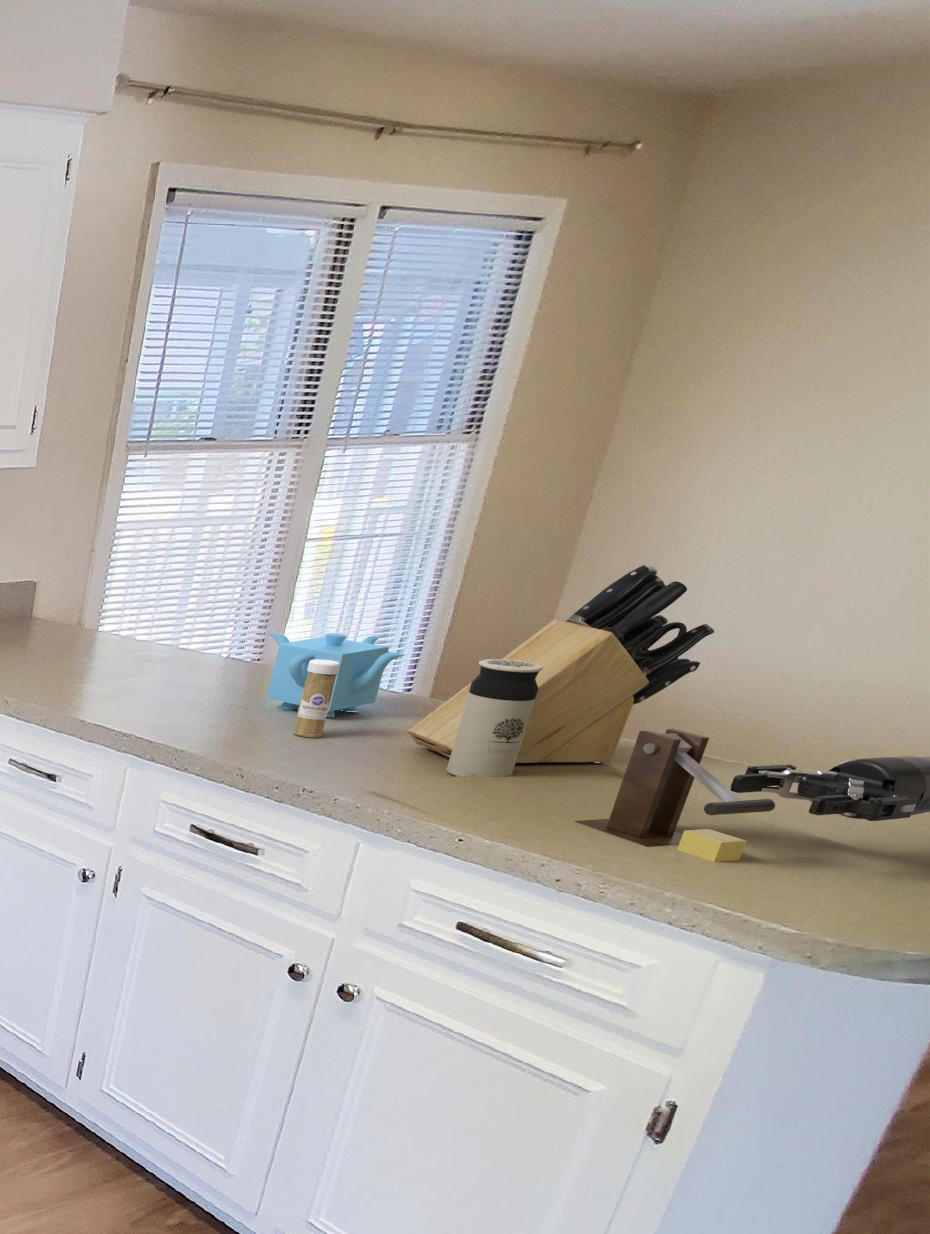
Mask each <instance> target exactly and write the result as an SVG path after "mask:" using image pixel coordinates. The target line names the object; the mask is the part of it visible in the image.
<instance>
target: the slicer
mask: <svg viewBox="0 0 930 1234" xmlns="http://www.w3.org/2000/svg"><path fill="white" fill-rule="evenodd" d="M670 733H676V734H677V735H678V736H679V737H681V738H682V739H683V740H684V741H685V742H686V743H688V744H689V745H690V746H691V747H692V748H691V749H690V750H689V751H688V752H687V754H688V755H689V756H690V757H691V758H692V759H694V760H695V761H696V762H697V763H698V764H699V765H701V762H702V759H703V756H704V753H705V751H706V749H707V745H708V743H709V741H710V737H708V736H705V735H701V734H696V733H693V732H689V731H684V730H680V729H675V728H667V729H666V730H665V733H664V734H670ZM662 734H663V733H658V732H654V731H650V730H639V732H638V735H637V738H636V741H635V744H634V746H633V749H632V752H631V755H630V758H629V761H628V764H627V767H626V770H625V773H624V775H623V778H622V780H621V783H620V786H619V789H618V793H617V795H616V798H615V801H614V804H613V807H612V810H611V813H610V816H609V818H601V819H585V820H584V819H583V820H573V822H574V823H577V824H579V825H583V826H585V827H588V828H591V829H594V830H597V831H599V832H603V833H606V834H607V835H608V834H609V835H612V836H614V837H617V838H620V839H623V840H626V841H629V842H631V843H635V844H636V845H639V846H643V847H645V848H651V847H652V848H654V847H668V846H679V843H680V840H681V838H682V835H683V833H681V832H678V831H676V829H677V827H678V824H679V821H680V818H681V815H682V813H683V811H684V808H685V804H686V802H687V799H688V798H689V797H688V796H689V793H690V791H691V788H692V786H693V784H694V780H695V779H696V778H695V777H693V776H692V775H691V774H690V773H689V772H688V771H686V770H685V769H684V768H683V767H682V766H681V765H679V764H678V763H677V762H676V761H674V758H675V756H676V753H677V750H678V747H679V744H680V742H681V739H678V738H674V737H670V736H666V735H662Z"/></svg>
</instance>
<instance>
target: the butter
mask: <svg viewBox="0 0 930 1234" xmlns="http://www.w3.org/2000/svg"><path fill="white" fill-rule="evenodd" d="M682 834H683V835H682V838H681V840H680V843H679V845H677V851H680V852H683V853H686V854H689V855H692V856H695V857H698V858H701V859H704V860H706V861H710V862H713V863H719V862H721V863H722V862H723V863H724V862H736V861H740V860H741V858H742V854H743V852H744V850H745V847H746V845H747V842H748V840H745V839H742V838H739V837H737V836H733V835H729V834H726V833H723V832H720V831H717V830H714V829H710V828H703V829H702V828H701V829H688V830H687V829H686V830H684V831H683V833H682Z"/></svg>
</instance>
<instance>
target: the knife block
mask: <svg viewBox="0 0 930 1234" xmlns="http://www.w3.org/2000/svg"><path fill="white" fill-rule="evenodd" d="M657 574H658V570H657V569H656V568H655V567H654V566H652V565H651V564H650V563H645V564H643V565H641V566H639V567H637V568H635V569H633V570H631V571H629V572H628V573H626V574H624V575H623V576H621V577H620V578H618V579H616V580H615V581H613V582H612V583H611V584H609V585H608V586H606V587H605V588H604V589H602V590H601V591H599V593H597V594H596V595H595V596H594V597H593V598H591V599H590V600H589V601H588V602H586V604H584V605H583V606H582V607H580V608H579V609H578V610H576V611H575V612H573V614H571V616H569V617H568V618H567V619H566V620H560V619H554V620H551V621H550V622H549V623H548V624H546V625H545V626H544V627H542V628H541V629H540V630H539V631H537V632H536V633H534V634H533V635H532V636H531V637H529V638H528V639H526V640H525V641H524V642H522V643H521V644H520V645H519V646H517V647H516V648H514V649H513V650H512V651H511V652H509V653H508V654H507V655H505V656H504V657H503V658H502V659H505V660H517V661H524V662H530V663H534V664H538V665H540V666H542V668H543V669H542V670H541V671H539V673H538V675H537V677H536V679H535V680H536V683H537V686H538V692H537V695H536V698H535V701H534V705H533V708H532V711H531V714H530V718H529V721H528V724H527V727H526V731H525V734H524V737H523V740H522V743H521V747H520V750H519V753H518V756H517V760H516V763H515V764H534V763H535V764H536V763H537V764H538V763H590V762H601V763H610V762H611V761H612V760H613V758H614V755H615V752H616V749H617V747H618V745H619V742H620V740H621V737H622V734H623V732H624V729H625V728H626V727H625V726H626V723H627V722H628V718H629V716H630V714H631V711H632V708H633V706H635V705H638V704H640V703H642V702H643V701H646V700H647V699H649V698H651V697H653V696H654V695H656V694H657V693H659V692H661V691H663V690H665V689H666V688H668V687H670V686H671V685H672V684H674V683H675V682H677V681H678V680H680V679H681V678H683V677H684V676H686V675H688V674H690V673H693V672H696V671H697V670H698V668H700V665H701V662H700V661H697V660H690V659H689V658H679V657H681V656H682V655H684V654H685V653H686V652H688V651H689V650H690V649H692V648H693V647H694V646H695V645H697V644H698V643H699V642H700V641H702V640H703V639H704V638H706V637H707V636H710V635H713V634H714V633H715V629H714V628H712V627H711V626H710V625H709V624H708V623H704V624H701V625H698V626H695V627H694V628H692V629H690V630H687V625H685V623H683V622H680V621H673V622H668V621H669V620H668V618H667V617H665V616H664V615H662V614H660V613H661V612H662V611H664V610H665V609H667V608H668V607H669V606H671V605H672V604H674V603H675V602H676V601H678V599H680V598H681V597H682V596H683V595H684V594H686V592H687V591H688V588H687V585H685V584H684V583H682V582H680V581H672V582H670V583H668V584H666V583H665V582H664V580H663V579H662V578H661V577H659V576H658V575H657ZM675 629H679V630H678V633H677V635H676V636H675V637H674V638H673V639H672V640H671V641H669V642H667V643H666V644H663V645H661V646H659V647H657V648H654V649H650V648H651V647H653V645H655V644H656V643H657V642H658V641H660V639H662V638H663V637H664V636H665V635H666V634H668V633H669V632H670V631H673V630H675ZM470 686H471V682H470V683H468V684H467V685H466V686H464V687H463V688H462V689H461V690H459V691H458V692H457V693H455V694H454V695H452V696H451V697H450V698H449V699H447V700H446V701H445V702H444V703H442V704H441V705H440V706H438V707H437V708H435V710H433V711H432V712H430V713H429V714H428V715H426V716H425V717H424V718H423V719H421V720H420V721H419V722H417V723H416V724H415V725H413V726H411V728H409V729H408V730H407V733H408V735H409V736H410V737H411V738H412V740H413V741H414V743H415V744H416V745H418V746H422V747H424V748H426V749H428V750H430V751H434V752H436V753H439V754H441V755H442V756H444V757H447V758H449V759H450V756H451V752H452V749H453V745H454V742H455V738H456V735H457V731H458V728H459V724H460V721H461V717H462V714H463V710H464V707H465V703H466V700H467V696H468V693H469V689H470Z"/></svg>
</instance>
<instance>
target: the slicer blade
mask: <svg viewBox="0 0 930 1234" xmlns="http://www.w3.org/2000/svg"><path fill="white" fill-rule="evenodd" d="M661 734H662V735H666V736H670V737H674V738H678V739H681V742H680V744H679V747H678V750H677V753H676V756H675V758H674V761H676V762H677V763H678V764H679V765H681V766H682V767H683V768H684V769H685V770H686V771H688V772H689V773H690V774H691V775H692V776H693V777H695V778H694V779H695V780H697V781H698V782H699V783H700V784H702V785H703V787H705V788H707V790H708V791H710V792H711V793H712V794H713V795H714V796H716V798H718V799H719V800H720V801H717V802H707V803H706V804H705V805H704V806H703V811H704V813H705V814H706V815H708V816H720V815H721V816H722V815H724V816H725V815H736V814H737V815H738V814H752V813H753V814H754V813H766V812H767V813H768V812H771V811H773V810H775V808H776V803H775V801H774V800H772V799H770V798H764V799H763V798H762V799H748V800H742V799H741V798H740V797H739V796H737V794H735V792H733V791H731V789H729V788H728V787H727V786H725V784H724V783H723V782H721V781H720V780H718V778H716V777H715V776H714V775H713V774H712V773H710V772H709V771H708V770H707V769H705V768H704V767H703V766H702V765H701V764H698V763H697V762H696V761H695V760H694V759H692V758H691V757H690V756H689V755H688V754H687V752H688V751H689V750H690V749H691V748H692V747H691V746H690V745H689V744H688V743H686V742H685V741H684V740H683V739H682V738H681V737H679V736H678V735H677V734H676V733H670V734H665V733H661Z"/></svg>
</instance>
